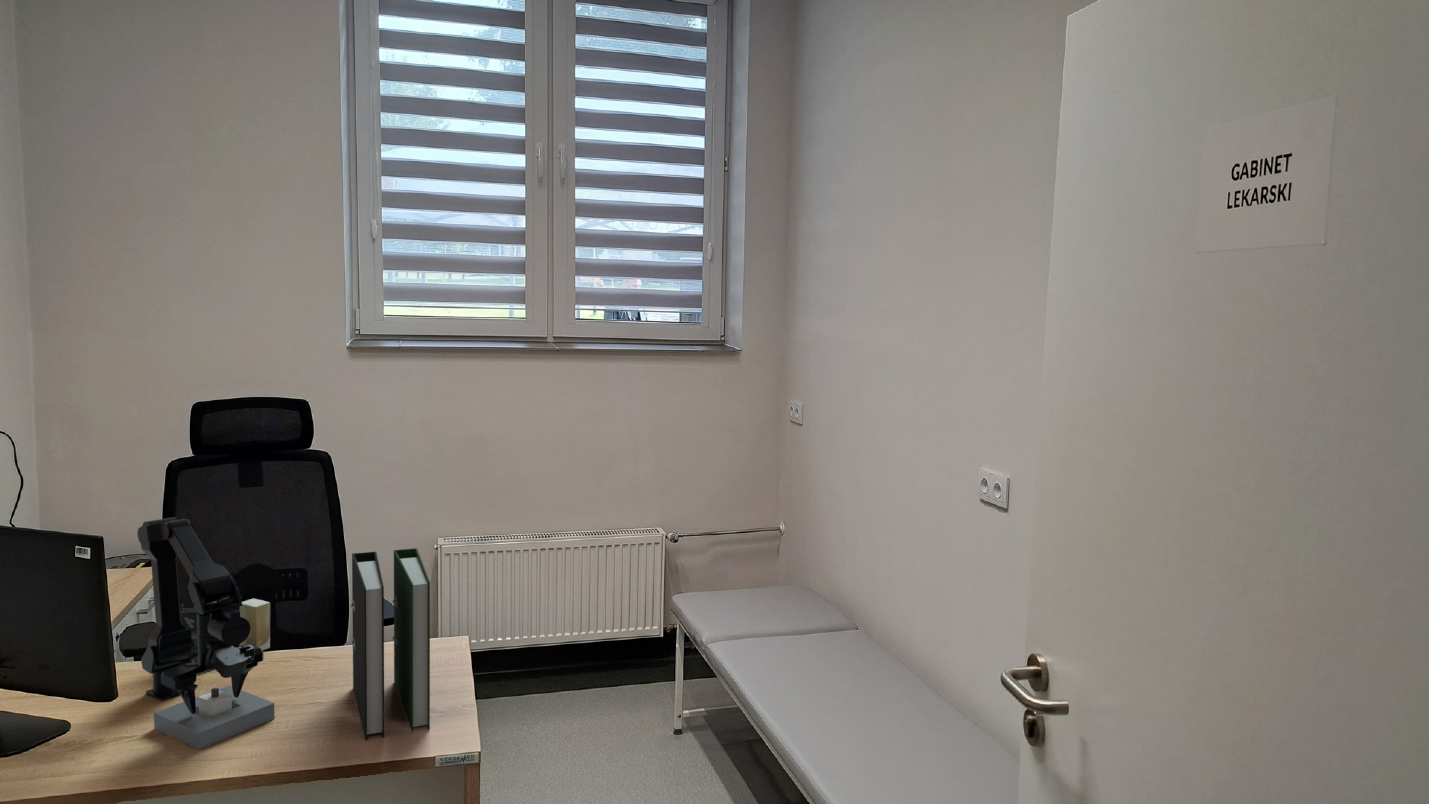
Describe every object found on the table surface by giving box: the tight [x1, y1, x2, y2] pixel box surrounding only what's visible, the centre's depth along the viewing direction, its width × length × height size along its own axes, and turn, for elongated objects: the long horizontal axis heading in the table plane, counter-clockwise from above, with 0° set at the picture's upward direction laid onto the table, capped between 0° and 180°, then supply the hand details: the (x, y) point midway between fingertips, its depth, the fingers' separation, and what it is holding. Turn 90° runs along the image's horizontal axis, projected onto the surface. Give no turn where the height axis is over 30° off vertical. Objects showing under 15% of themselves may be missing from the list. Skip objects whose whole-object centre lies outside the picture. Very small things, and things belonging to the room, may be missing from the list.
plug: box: [199, 687, 232, 718], centre depth 184 cm, size 5×4×6 cm
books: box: [349, 547, 431, 741], centre depth 193 cm, size 27×15×32 cm, turn 26°
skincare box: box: [238, 597, 271, 652], centre depth 224 cm, size 6×4×12 cm
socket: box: [153, 685, 276, 751], centre depth 184 cm, size 16×16×4 cm
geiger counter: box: [180, 600, 222, 668], centre depth 214 cm, size 10×4×15 cm, turn 113°
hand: (215, 705), depth 184 cm, fingers open, 9 cm apart
